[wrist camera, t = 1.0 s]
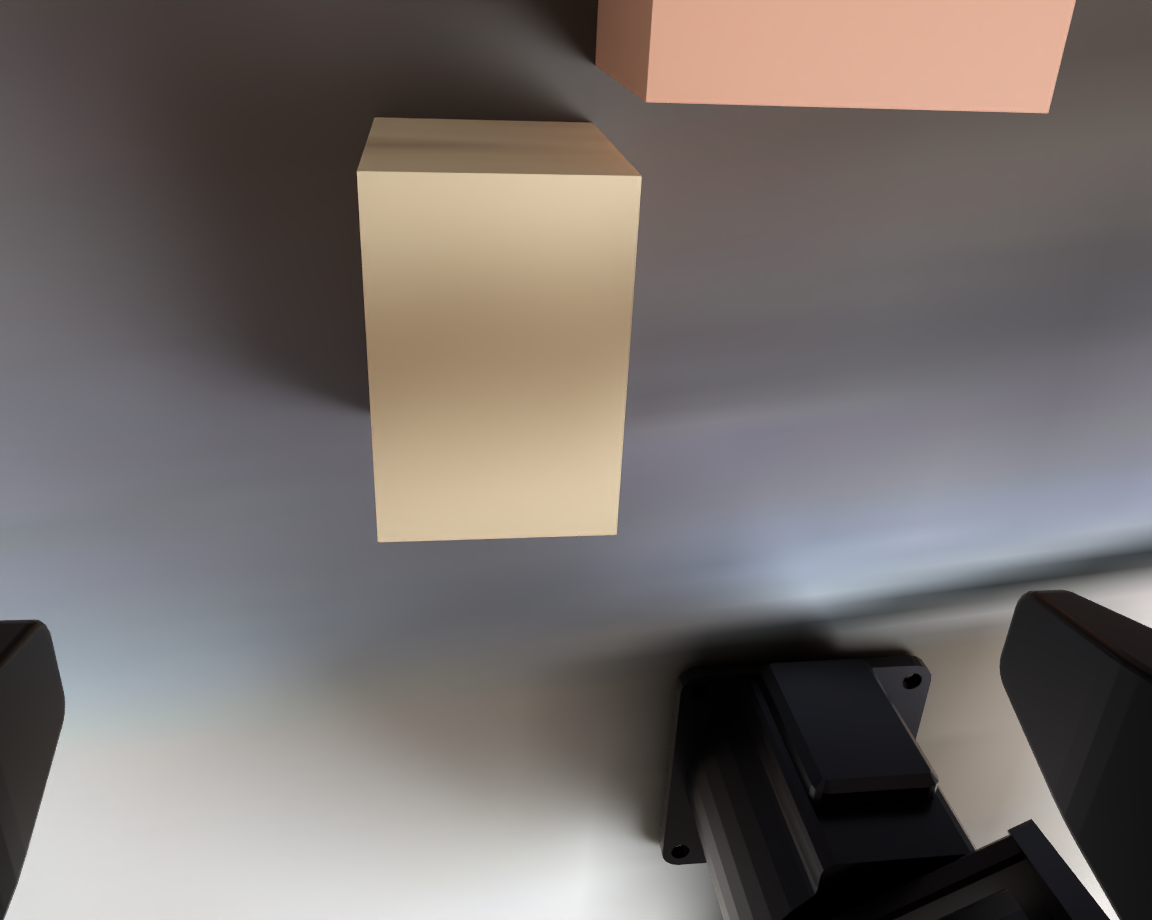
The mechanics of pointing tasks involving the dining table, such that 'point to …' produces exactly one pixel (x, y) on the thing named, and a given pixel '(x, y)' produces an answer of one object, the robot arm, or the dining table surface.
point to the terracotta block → (837, 52)
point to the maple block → (496, 325)
